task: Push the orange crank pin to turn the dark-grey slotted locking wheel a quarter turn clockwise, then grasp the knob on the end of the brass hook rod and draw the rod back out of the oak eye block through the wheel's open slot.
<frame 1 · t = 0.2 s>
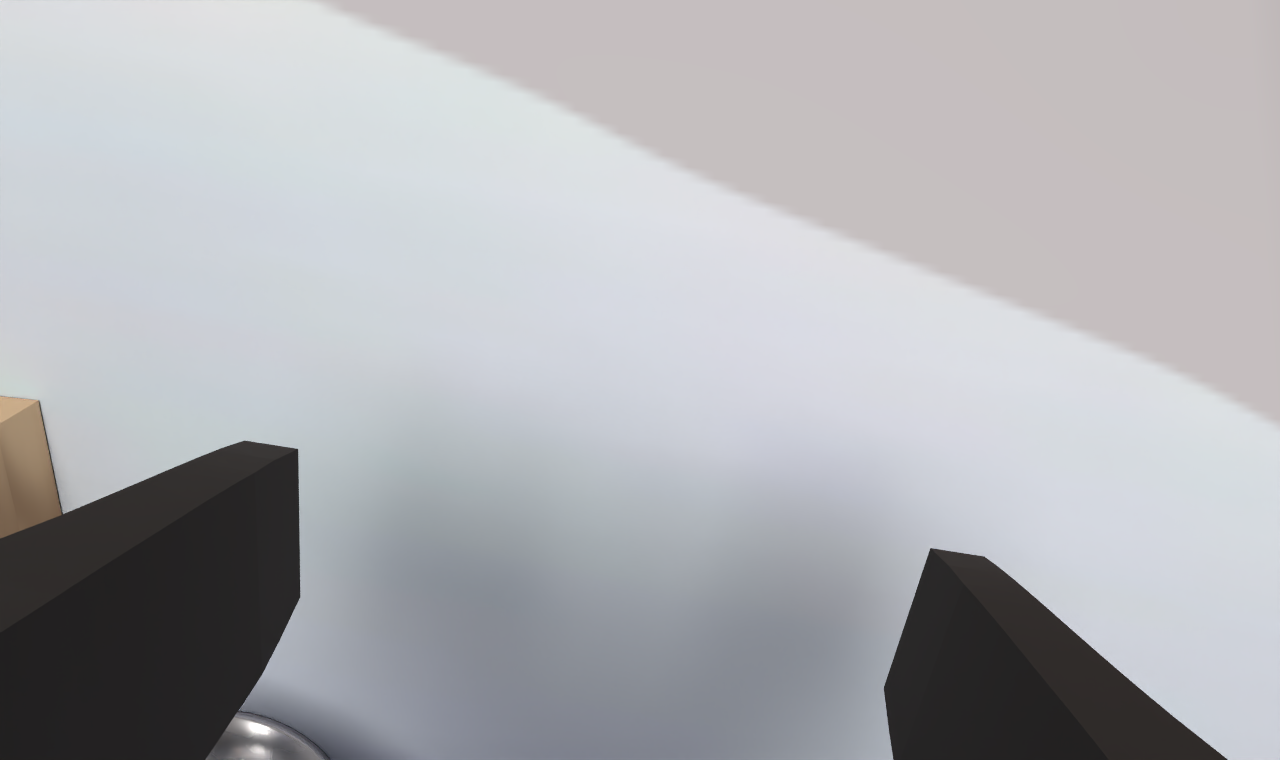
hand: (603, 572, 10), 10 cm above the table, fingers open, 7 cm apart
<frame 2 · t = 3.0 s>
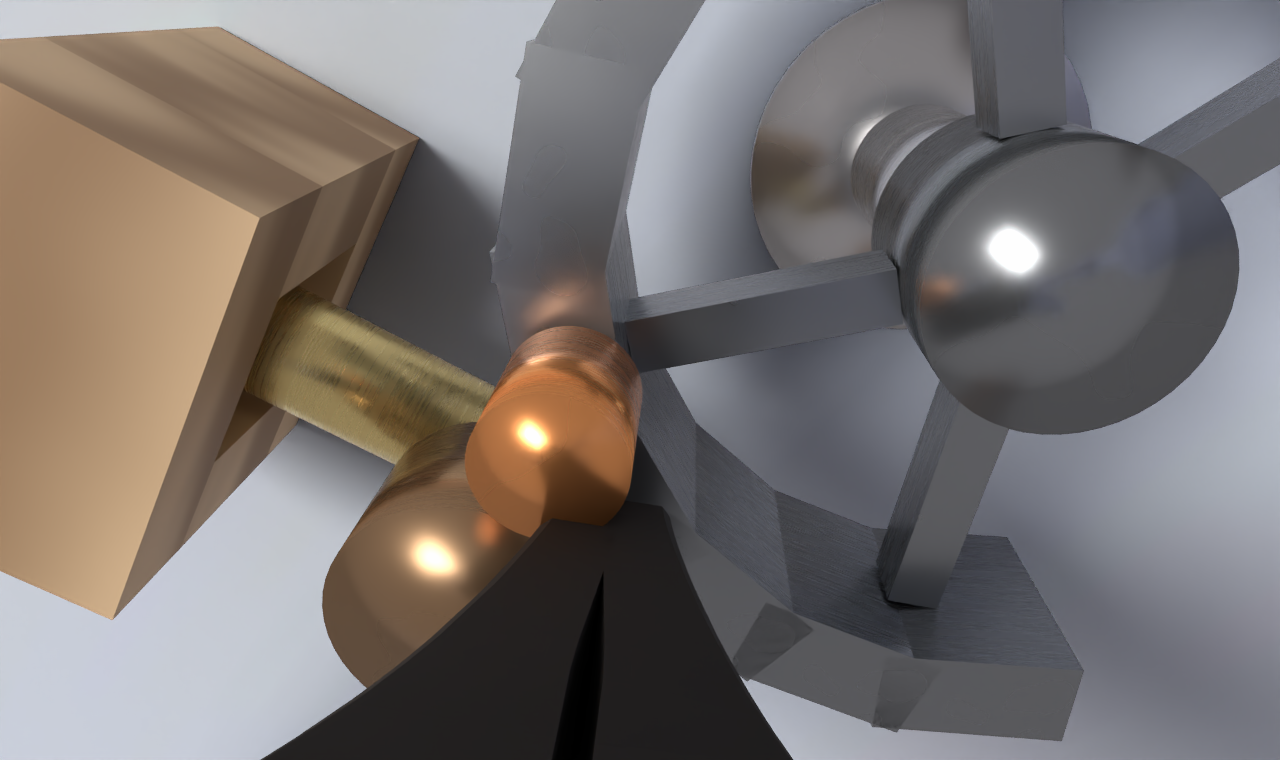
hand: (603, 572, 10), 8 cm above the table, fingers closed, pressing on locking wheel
locking wheel: (983, 233, 10), point 7 cm above the table, hinge at -3.4°, touching gripper
hook rod: (238, 381, 13), point 5 cm above the table, slide at 0.0 cm
axle post: (914, 170, 16), on the table
eye block: (260, 244, 17), on the table
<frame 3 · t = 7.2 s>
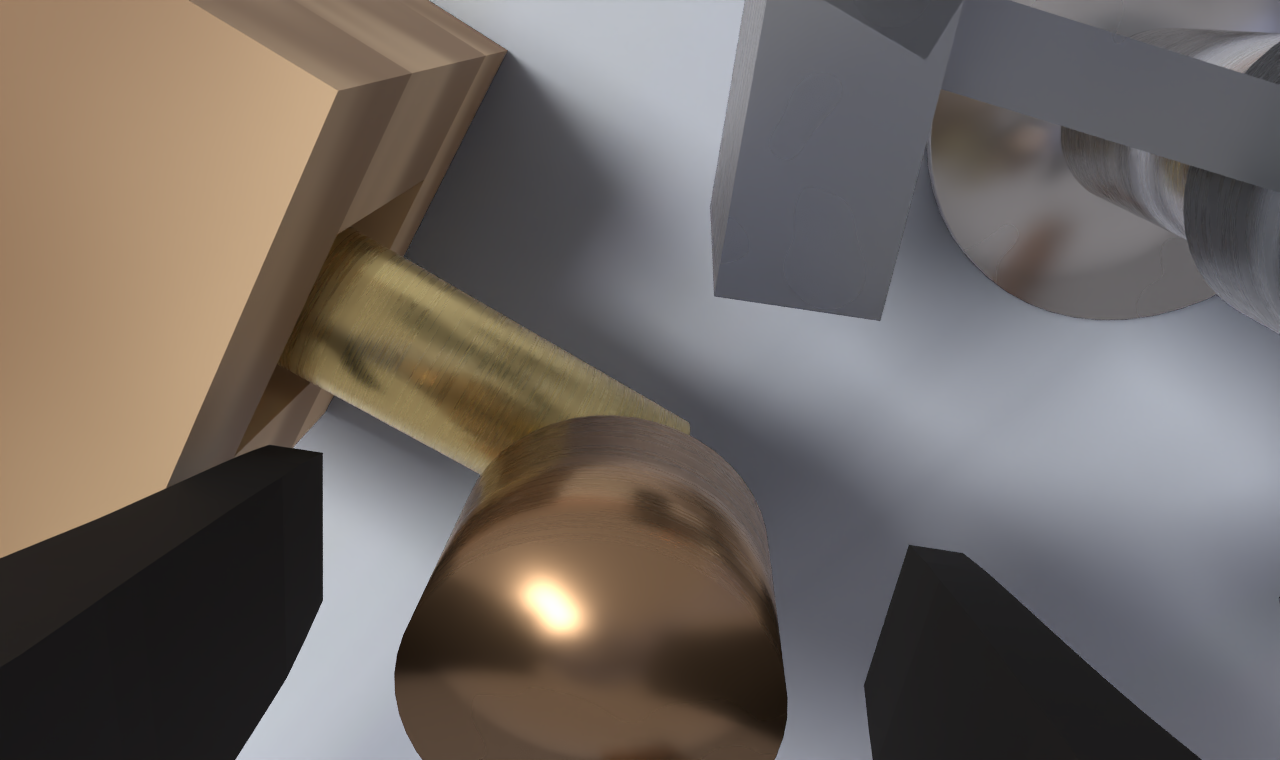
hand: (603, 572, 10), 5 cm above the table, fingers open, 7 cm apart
hook rod: (274, 348, 10), point 5 cm above the table, slide at 0.0 cm
axle post: (1139, 116, 13), on the table
eye block: (294, 182, 14), on the table
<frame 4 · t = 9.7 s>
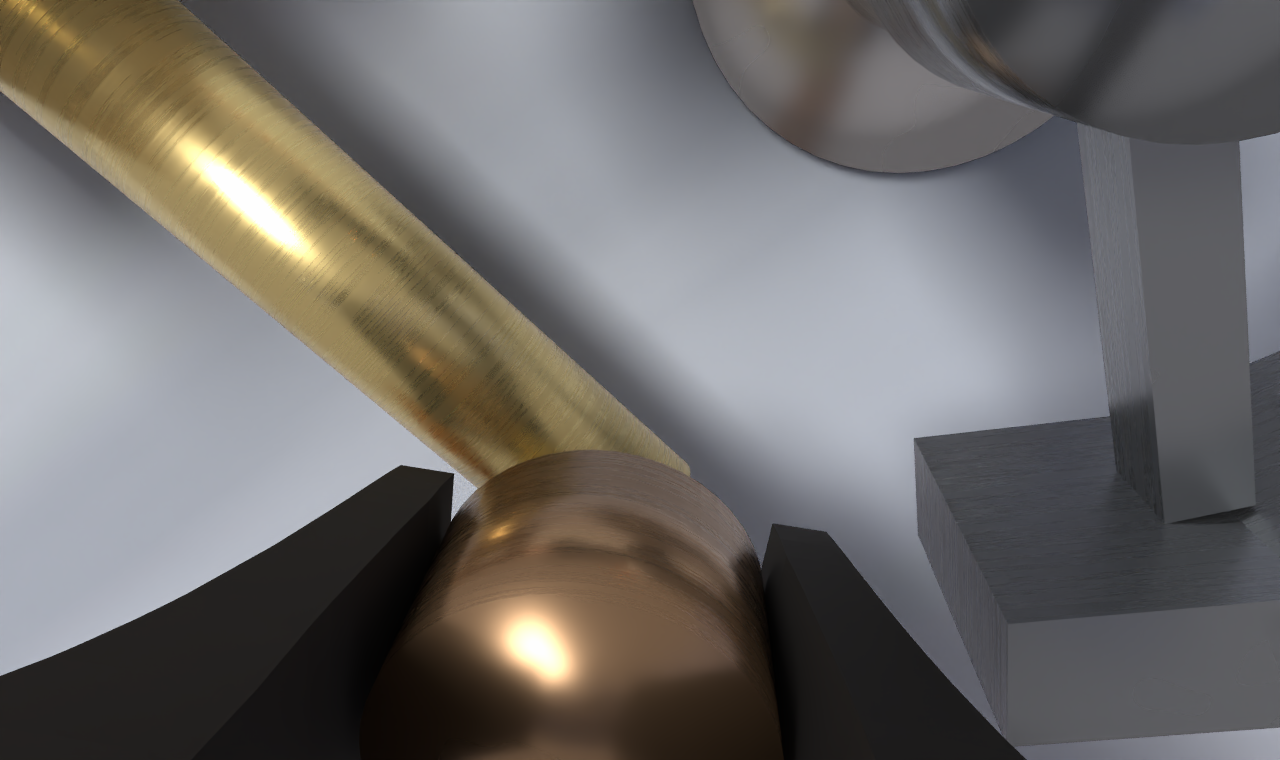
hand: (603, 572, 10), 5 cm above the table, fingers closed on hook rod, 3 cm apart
hook rod: (282, 305, 9), point 5 cm above the table, slide at 6.0 cm, touching gripper
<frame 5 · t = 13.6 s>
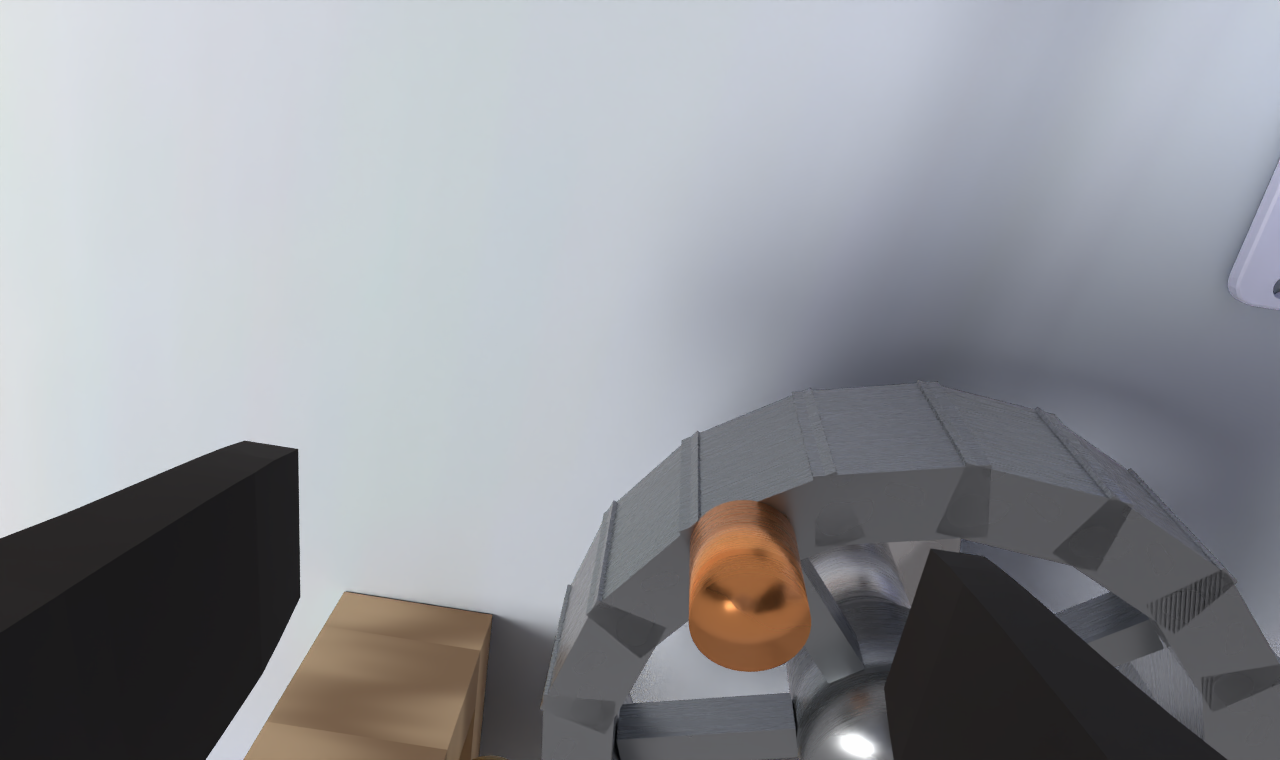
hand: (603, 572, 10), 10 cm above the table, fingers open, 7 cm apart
locking wheel: (911, 714, 15), point 7 cm above the table, hinge at -95.5°
axle post: (833, 538, 22), on the table
eye block: (413, 702, 25), on the table
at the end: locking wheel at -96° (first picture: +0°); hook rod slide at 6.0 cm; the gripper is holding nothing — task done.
